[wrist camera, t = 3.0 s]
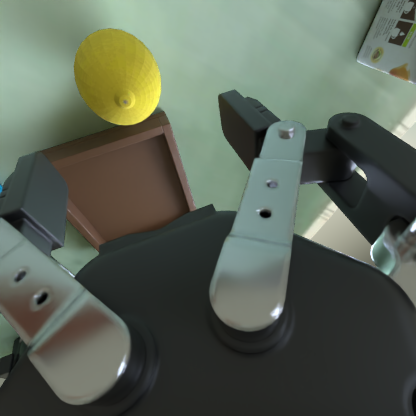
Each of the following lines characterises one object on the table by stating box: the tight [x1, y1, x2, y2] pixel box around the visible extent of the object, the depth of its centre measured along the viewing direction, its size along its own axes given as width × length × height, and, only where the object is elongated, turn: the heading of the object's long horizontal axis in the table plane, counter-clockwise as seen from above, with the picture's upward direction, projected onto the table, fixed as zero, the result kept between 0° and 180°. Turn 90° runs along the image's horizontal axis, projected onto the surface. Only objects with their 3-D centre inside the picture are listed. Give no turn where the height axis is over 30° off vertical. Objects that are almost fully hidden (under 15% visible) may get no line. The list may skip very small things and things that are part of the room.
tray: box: [40, 111, 196, 252], centre depth 28 cm, size 13×16×3 cm
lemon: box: [74, 29, 161, 125], centre depth 17 cm, size 6×6×8 cm
